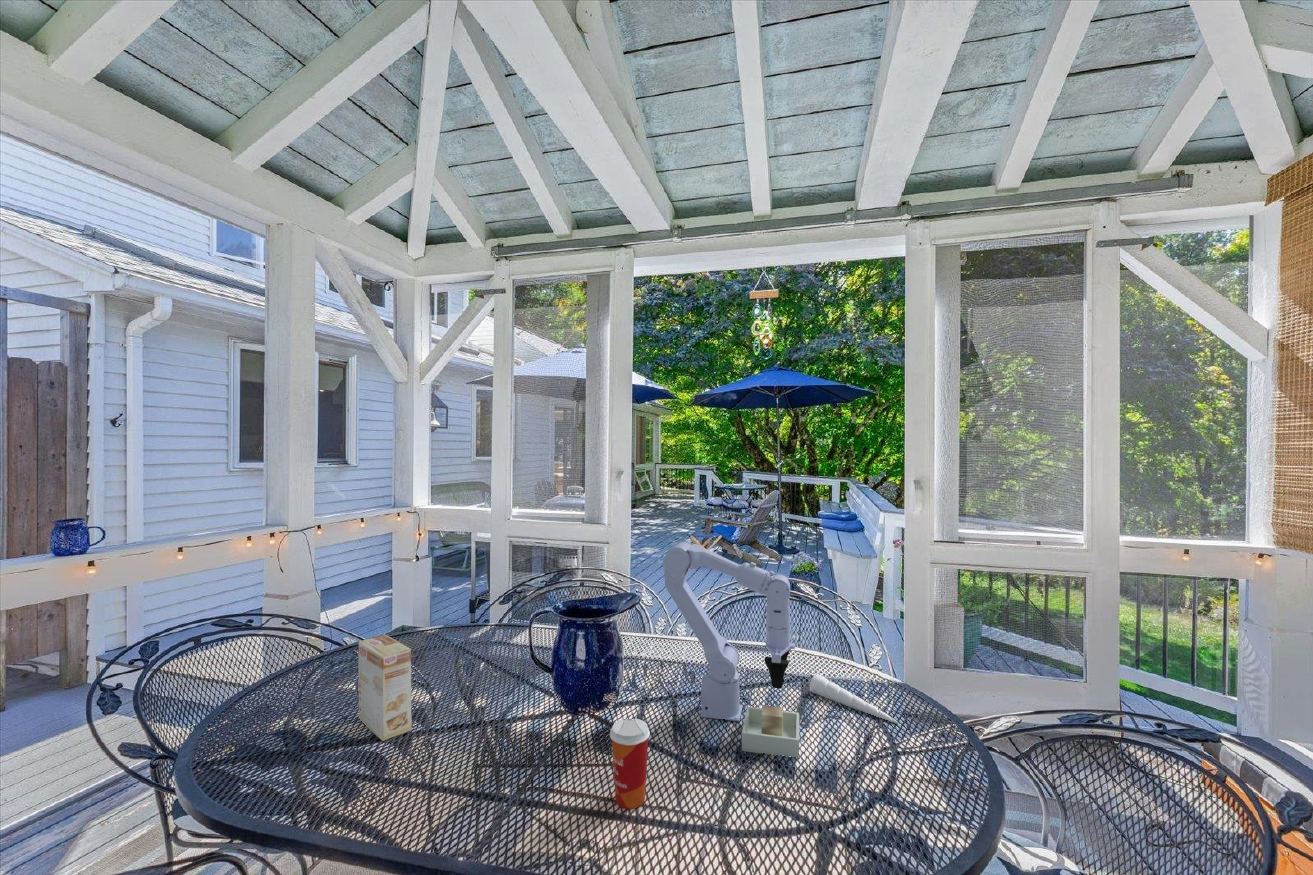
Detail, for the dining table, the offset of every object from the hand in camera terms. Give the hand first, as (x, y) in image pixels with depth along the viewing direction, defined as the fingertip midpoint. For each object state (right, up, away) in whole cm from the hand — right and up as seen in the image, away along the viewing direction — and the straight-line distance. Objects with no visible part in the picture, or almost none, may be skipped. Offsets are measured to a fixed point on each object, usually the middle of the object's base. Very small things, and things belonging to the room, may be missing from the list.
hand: (778, 681), depth 138 cm
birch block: (-3, -9, -9) cm, 13 cm away
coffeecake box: (-96, -10, -2) cm, 96 cm away
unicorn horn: (+20, -10, +7) cm, 24 cm away
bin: (-4, -10, -9) cm, 14 cm away
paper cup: (-35, -10, -30) cm, 47 cm away
